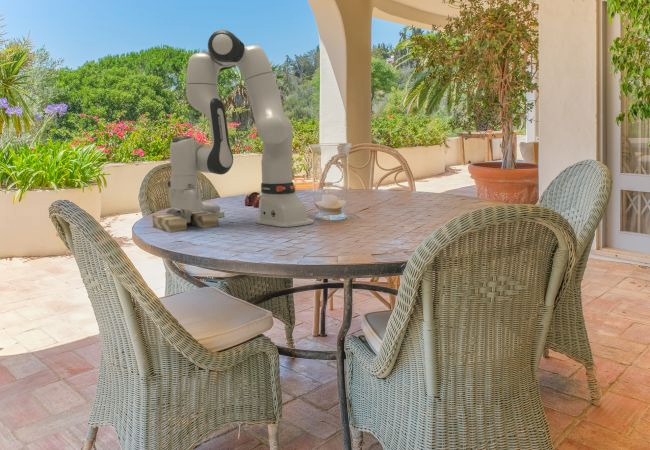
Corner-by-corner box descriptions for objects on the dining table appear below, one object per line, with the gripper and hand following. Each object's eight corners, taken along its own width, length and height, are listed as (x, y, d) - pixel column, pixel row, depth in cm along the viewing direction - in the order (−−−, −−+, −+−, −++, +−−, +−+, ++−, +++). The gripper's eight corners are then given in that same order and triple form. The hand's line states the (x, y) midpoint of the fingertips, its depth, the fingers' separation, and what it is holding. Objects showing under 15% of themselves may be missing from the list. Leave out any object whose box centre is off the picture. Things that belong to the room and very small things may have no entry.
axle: (191, 226, 205) (192, 212, 205) (178, 225, 202) (179, 211, 202) (178, 221, 214) (179, 208, 214) (165, 221, 211) (166, 208, 211)
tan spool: (218, 225, 202) (218, 214, 201) (170, 232, 191) (169, 220, 191) (199, 220, 215) (198, 210, 214) (153, 226, 204) (152, 215, 203)
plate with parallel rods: (224, 216, 222) (223, 204, 221) (196, 220, 215) (195, 207, 214) (206, 212, 234) (206, 200, 234) (179, 215, 227) (178, 203, 226)
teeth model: (257, 193, 243) (242, 192, 252) (257, 208, 244) (243, 206, 253) (273, 192, 248) (258, 191, 258) (273, 207, 249) (259, 204, 258)
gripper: (206, 184, 193) (208, 224, 195) (181, 180, 209) (183, 217, 211) (188, 186, 189) (191, 226, 191) (164, 182, 205) (167, 219, 207)
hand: (186, 222), depth 201 cm, fingers closed
